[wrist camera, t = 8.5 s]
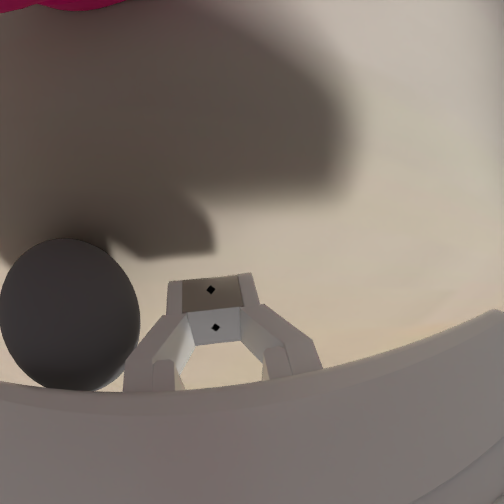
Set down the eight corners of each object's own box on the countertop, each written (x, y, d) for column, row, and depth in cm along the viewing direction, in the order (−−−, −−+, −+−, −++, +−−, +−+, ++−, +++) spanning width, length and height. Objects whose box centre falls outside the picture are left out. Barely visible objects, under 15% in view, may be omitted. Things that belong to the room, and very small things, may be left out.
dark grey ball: (-44, 318, 4) (0, 222, 8) (31, 426, 6) (31, 326, 10) (153, 293, 7) (124, 207, 11) (163, 407, 9) (131, 312, 13)
